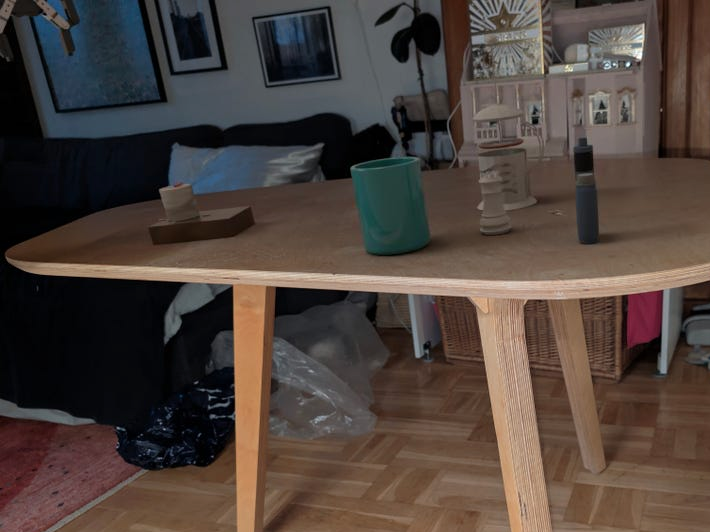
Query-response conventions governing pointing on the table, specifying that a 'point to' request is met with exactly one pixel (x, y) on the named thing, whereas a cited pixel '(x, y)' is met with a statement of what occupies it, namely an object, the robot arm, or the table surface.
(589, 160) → the vaping device
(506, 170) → the french press
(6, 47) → the robot arm
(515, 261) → the table surface
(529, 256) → the table surface
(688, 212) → the table surface
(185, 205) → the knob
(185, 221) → the panel
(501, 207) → the rook chess piece
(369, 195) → the cup
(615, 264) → the table surface
